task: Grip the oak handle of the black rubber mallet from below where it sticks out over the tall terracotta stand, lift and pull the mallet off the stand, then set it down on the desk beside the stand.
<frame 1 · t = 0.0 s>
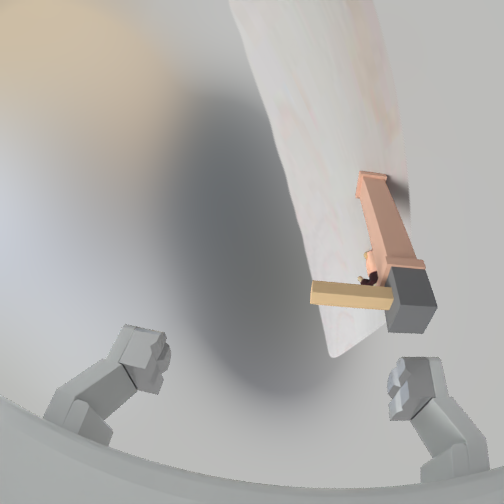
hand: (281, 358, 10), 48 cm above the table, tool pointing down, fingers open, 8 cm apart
mallet: (403, 282, 35), point 26 cm above the table, touching stand
stand: (370, 184, 56), on the table
grandmother figurine: (371, 254, 65), on the table
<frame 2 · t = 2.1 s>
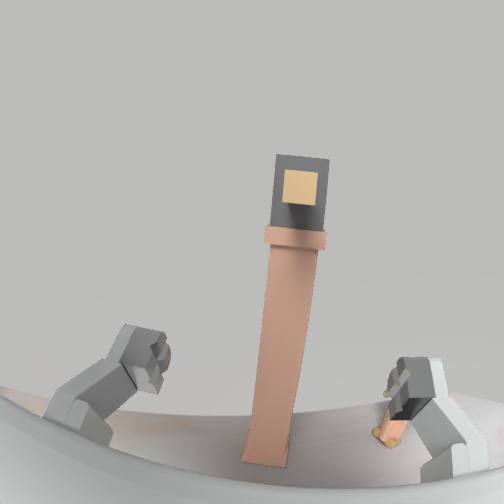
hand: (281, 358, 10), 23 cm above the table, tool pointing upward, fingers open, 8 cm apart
mallet: (296, 226, 29), point 26 cm above the table, touching stand
stand: (265, 451, 33), on the table
grandmother figurine: (388, 440, 34), on the table
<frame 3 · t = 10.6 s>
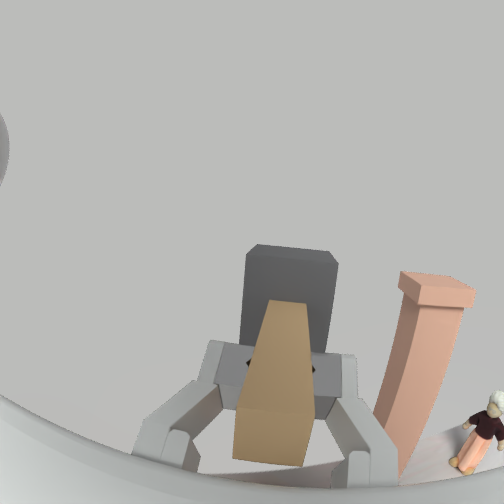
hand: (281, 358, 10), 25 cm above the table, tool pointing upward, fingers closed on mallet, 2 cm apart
mallet: (281, 354, 18), point 22 cm above the table, touching gripper
stand: (361, 499, 26), on the table
grandmother figurine: (464, 469, 28), on the table
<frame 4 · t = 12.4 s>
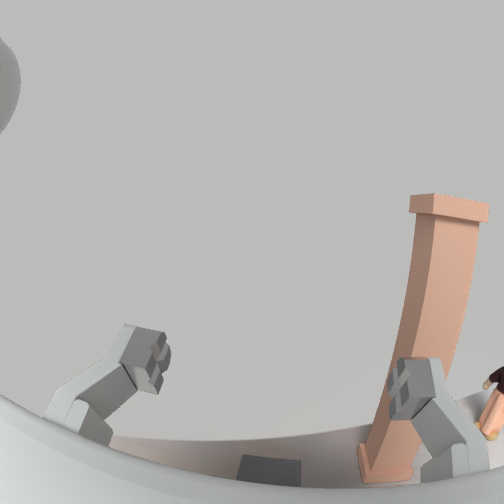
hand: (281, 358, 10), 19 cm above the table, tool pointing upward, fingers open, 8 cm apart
stand: (382, 465, 25), on the table
grandmother figurine: (487, 434, 27), on the table
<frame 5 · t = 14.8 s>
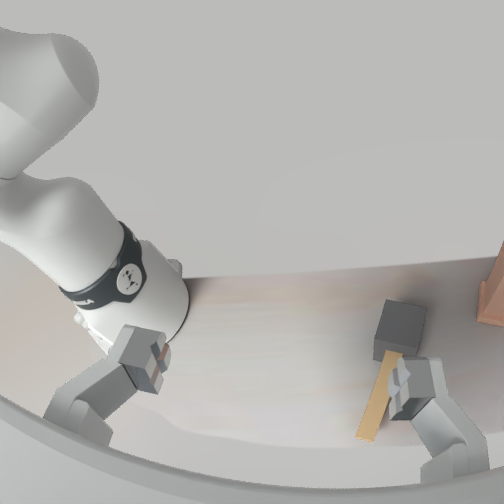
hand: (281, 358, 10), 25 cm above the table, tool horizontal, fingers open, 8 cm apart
mallet: (396, 346, 32), on the table
stand: (495, 306, 30), on the table
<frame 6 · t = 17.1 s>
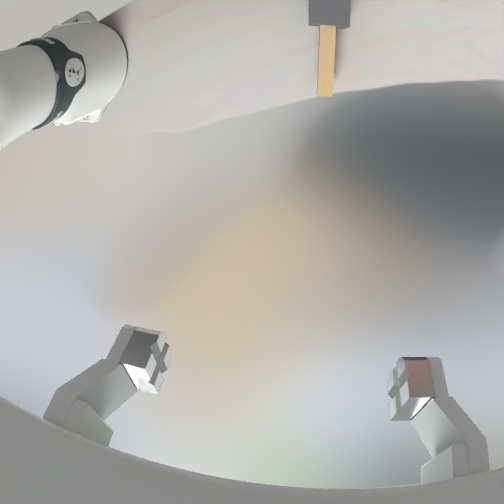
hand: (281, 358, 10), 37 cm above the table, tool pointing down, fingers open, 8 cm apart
mallet: (326, 11, 31), on the table
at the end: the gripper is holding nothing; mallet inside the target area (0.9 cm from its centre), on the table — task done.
